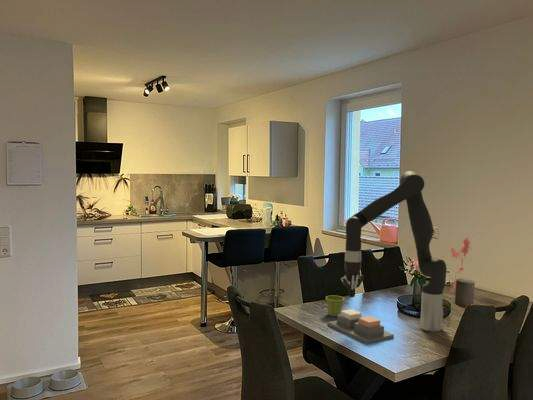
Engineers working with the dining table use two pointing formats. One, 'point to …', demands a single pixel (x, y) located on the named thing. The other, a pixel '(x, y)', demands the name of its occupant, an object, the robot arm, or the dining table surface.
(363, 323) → the terracotta key
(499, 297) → the dining table surface
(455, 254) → the pink flower sprig
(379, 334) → the key panel
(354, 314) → the cream key
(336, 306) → the plant pot
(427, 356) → the dining table surface
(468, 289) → the pillar candle
